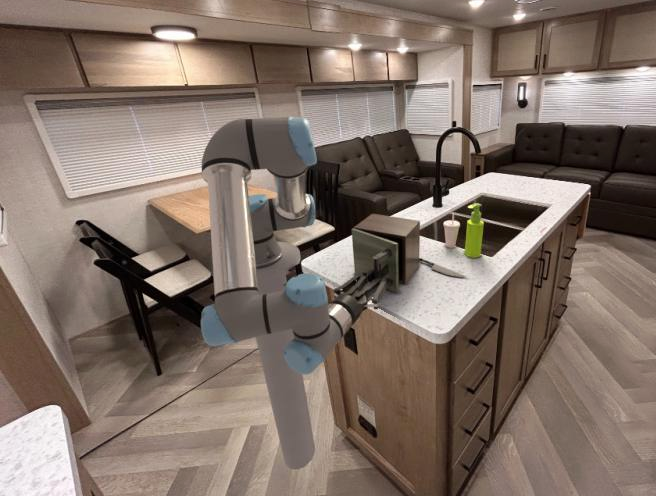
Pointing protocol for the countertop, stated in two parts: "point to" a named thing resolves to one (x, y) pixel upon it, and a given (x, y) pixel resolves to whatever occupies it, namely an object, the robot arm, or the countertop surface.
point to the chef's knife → (442, 269)
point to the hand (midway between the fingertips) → (383, 268)
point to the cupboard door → (375, 256)
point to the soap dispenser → (474, 233)
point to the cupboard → (397, 240)
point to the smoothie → (451, 232)
